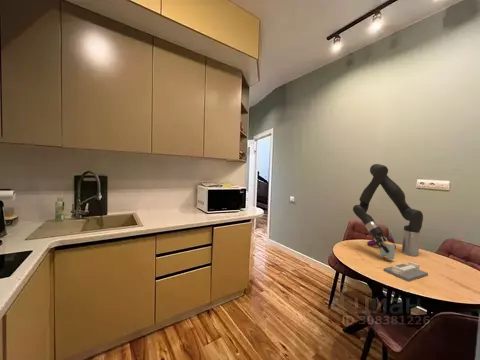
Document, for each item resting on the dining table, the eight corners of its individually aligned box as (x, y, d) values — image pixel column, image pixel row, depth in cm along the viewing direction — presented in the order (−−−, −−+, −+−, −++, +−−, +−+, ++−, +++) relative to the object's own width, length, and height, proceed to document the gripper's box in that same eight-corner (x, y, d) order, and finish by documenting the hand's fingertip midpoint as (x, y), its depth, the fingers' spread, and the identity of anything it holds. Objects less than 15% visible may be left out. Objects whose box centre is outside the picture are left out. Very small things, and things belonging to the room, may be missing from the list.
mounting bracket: (371, 254, 170) (397, 249, 162) (367, 244, 172) (392, 238, 163) (371, 251, 178) (396, 246, 170) (366, 241, 180) (391, 235, 172)
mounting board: (402, 266, 137) (403, 258, 137) (427, 275, 125) (428, 267, 125) (383, 270, 128) (384, 263, 128) (408, 281, 116) (409, 273, 116)
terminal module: (384, 255, 148) (385, 240, 148) (394, 259, 143) (395, 243, 142) (380, 256, 146) (381, 241, 146) (389, 260, 141) (390, 244, 140)
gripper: (371, 227, 147) (388, 250, 137) (384, 225, 153) (401, 248, 143) (363, 232, 152) (379, 255, 142) (376, 230, 158) (392, 252, 148)
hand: (390, 251), depth 143 cm, fingers closed on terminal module, 5 cm apart
